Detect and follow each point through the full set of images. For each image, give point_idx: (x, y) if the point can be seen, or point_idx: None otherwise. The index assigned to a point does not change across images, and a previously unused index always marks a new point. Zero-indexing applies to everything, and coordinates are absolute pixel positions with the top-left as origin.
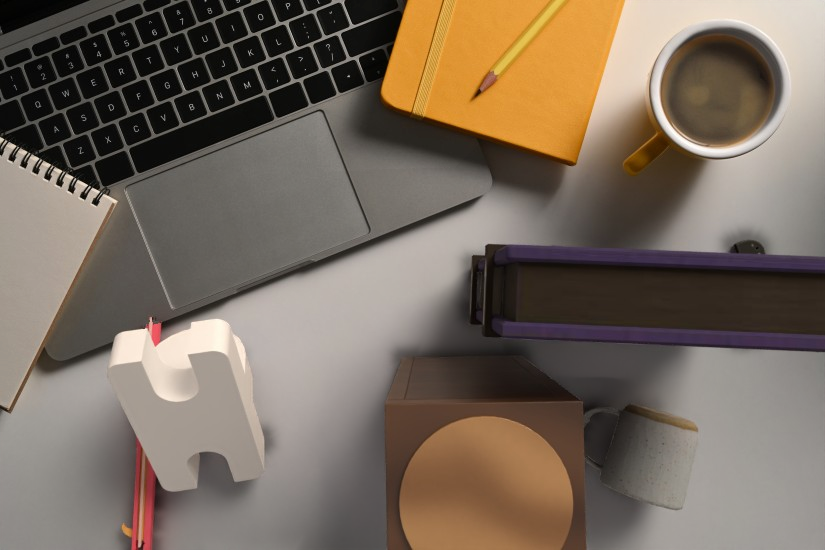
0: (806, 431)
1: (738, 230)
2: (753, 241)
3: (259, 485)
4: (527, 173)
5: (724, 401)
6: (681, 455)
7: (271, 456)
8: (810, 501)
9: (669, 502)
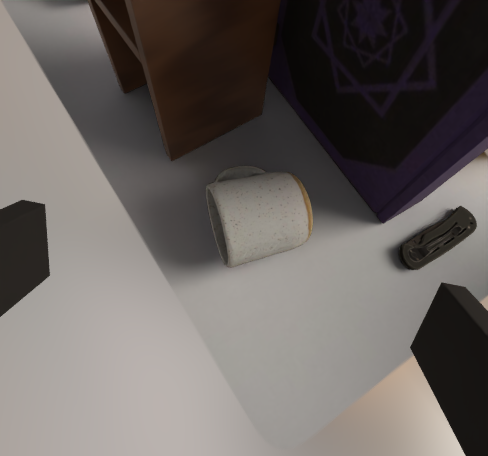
0: (370, 370)
1: (467, 207)
2: (473, 217)
3: (62, 12)
4: None
5: (339, 278)
6: (280, 212)
7: (88, 10)
8: (311, 423)
9: (230, 222)
